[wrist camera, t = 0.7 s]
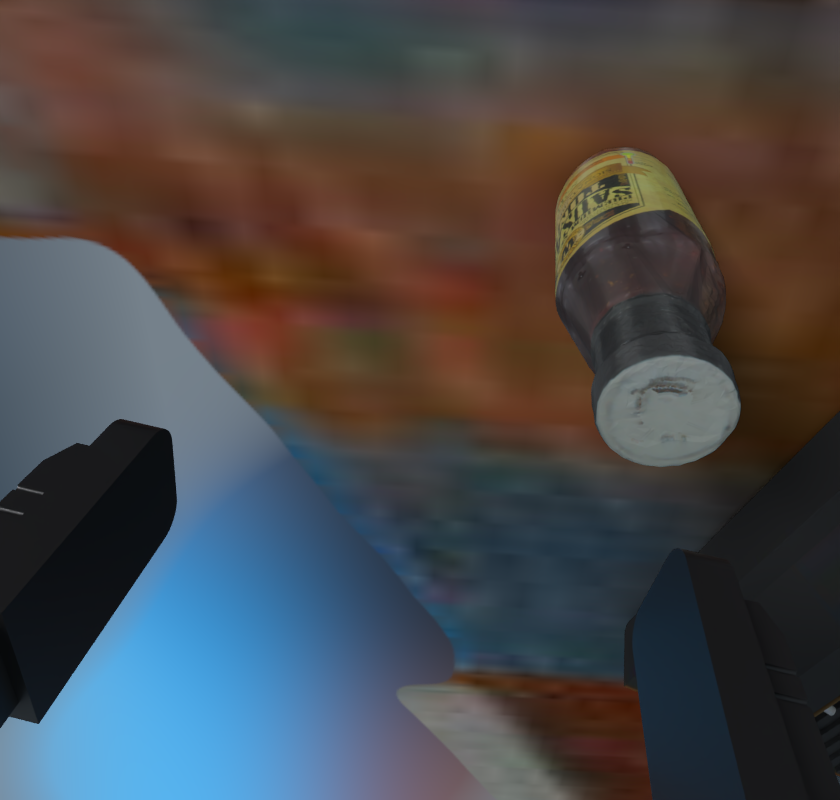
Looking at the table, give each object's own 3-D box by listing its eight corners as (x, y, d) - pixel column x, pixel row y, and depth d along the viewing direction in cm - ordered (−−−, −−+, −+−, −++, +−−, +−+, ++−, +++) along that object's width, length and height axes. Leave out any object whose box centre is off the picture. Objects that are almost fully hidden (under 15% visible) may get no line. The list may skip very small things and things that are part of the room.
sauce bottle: (598, 119, 32) (656, 251, 16) (701, 179, 33) (859, 366, 17) (530, 231, 36) (519, 434, 19) (624, 283, 37) (691, 521, 20)
